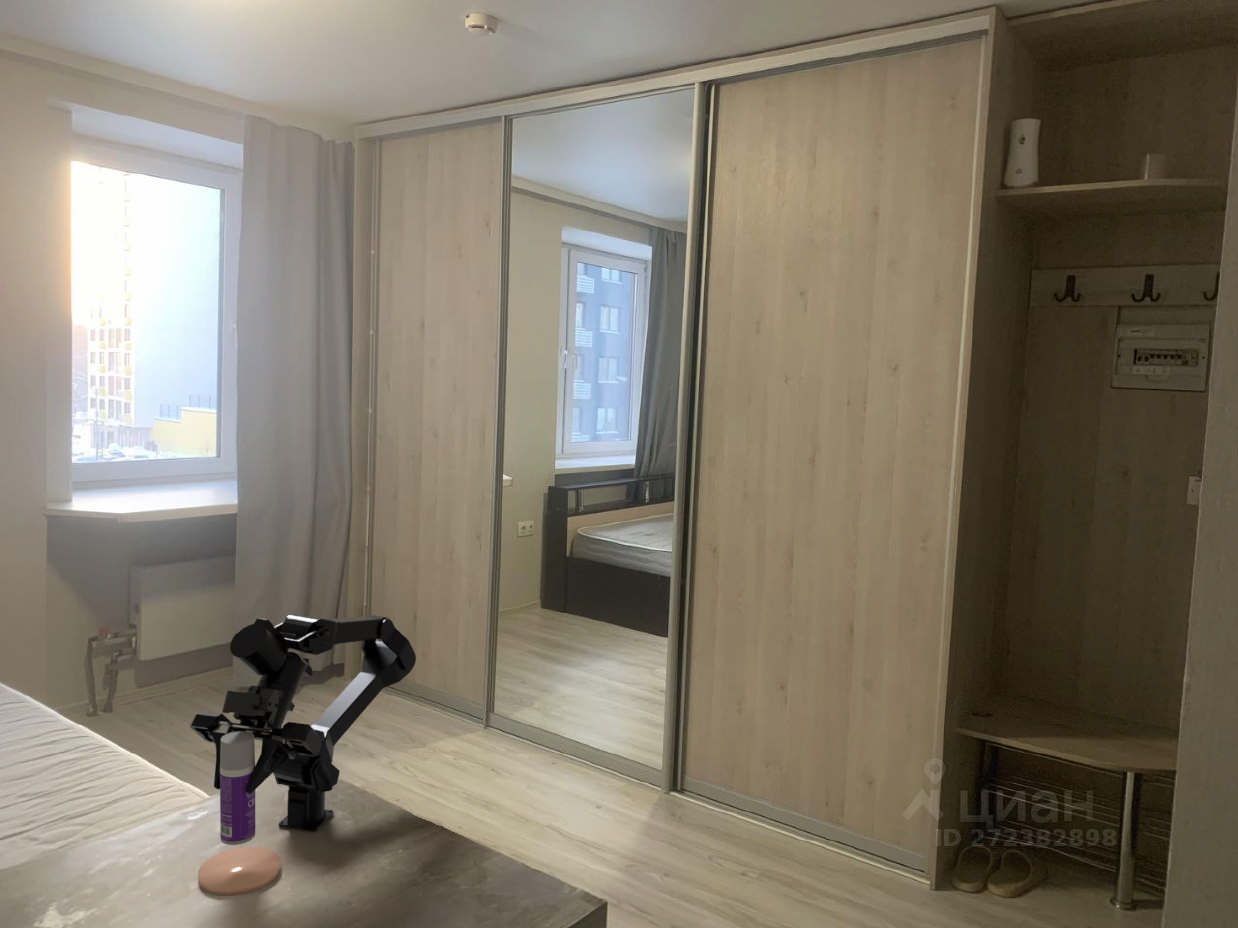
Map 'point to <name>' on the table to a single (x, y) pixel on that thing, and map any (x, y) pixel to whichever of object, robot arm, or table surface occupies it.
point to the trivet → (239, 871)
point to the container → (236, 788)
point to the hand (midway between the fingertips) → (232, 790)
